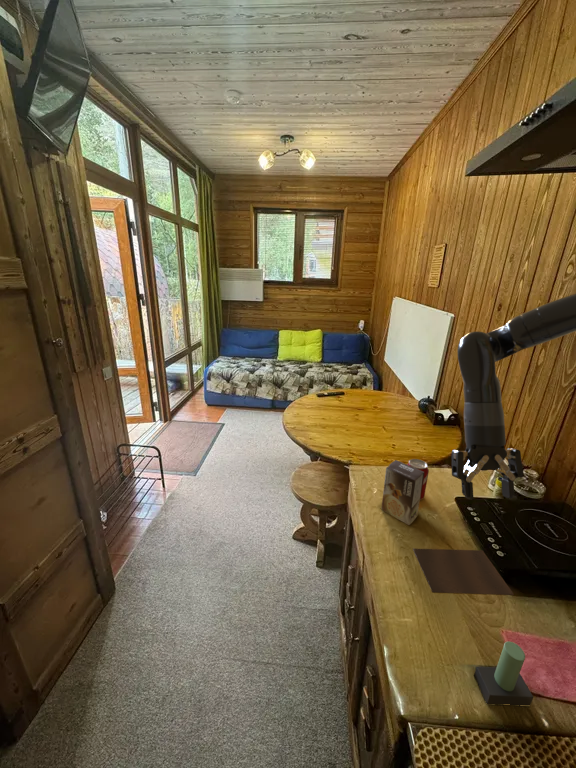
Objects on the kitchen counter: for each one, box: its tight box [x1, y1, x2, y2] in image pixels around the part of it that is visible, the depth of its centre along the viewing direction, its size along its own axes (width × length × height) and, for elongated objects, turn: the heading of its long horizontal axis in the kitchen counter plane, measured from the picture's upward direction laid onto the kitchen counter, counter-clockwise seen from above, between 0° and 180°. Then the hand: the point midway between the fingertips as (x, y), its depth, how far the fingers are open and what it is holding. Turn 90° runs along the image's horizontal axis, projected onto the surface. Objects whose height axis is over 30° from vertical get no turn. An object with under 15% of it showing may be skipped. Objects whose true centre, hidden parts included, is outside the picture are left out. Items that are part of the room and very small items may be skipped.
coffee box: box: [381, 459, 424, 526], centre depth 90 cm, size 9×6×16 cm
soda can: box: [406, 458, 430, 501], centre depth 100 cm, size 7×7×12 cm
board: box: [412, 547, 515, 596], centre depth 74 cm, size 18×12×2 cm, turn 89°
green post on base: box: [473, 640, 534, 707], centre depth 51 cm, size 4×7×10 cm, turn 88°
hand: (488, 497), depth 67 cm, fingers open, 8 cm apart
